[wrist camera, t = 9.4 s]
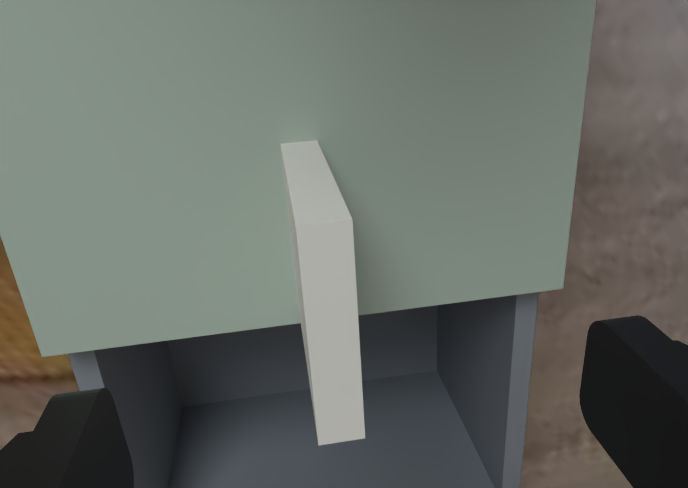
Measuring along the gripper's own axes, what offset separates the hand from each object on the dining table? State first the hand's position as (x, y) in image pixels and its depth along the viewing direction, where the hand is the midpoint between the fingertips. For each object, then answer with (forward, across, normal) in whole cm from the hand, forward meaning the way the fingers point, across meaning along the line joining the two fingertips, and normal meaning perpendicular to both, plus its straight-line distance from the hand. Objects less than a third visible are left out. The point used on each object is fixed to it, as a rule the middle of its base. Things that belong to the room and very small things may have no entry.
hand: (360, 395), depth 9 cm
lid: (+8, 0, -5) cm, 10 cm away
